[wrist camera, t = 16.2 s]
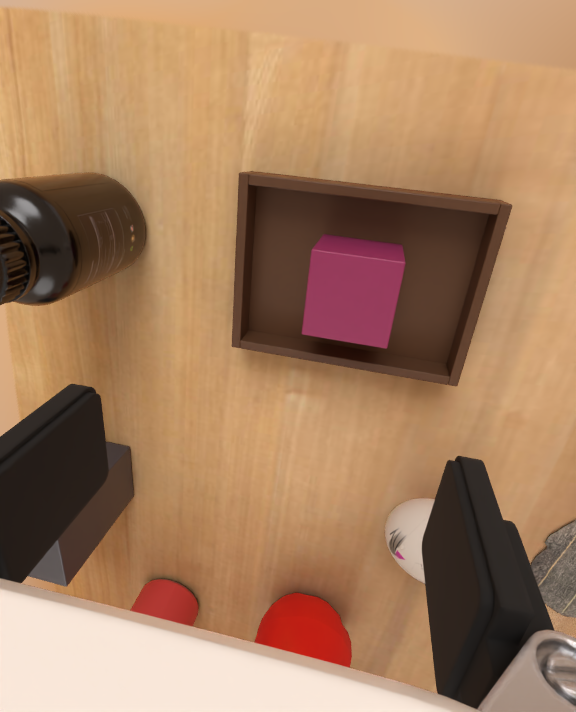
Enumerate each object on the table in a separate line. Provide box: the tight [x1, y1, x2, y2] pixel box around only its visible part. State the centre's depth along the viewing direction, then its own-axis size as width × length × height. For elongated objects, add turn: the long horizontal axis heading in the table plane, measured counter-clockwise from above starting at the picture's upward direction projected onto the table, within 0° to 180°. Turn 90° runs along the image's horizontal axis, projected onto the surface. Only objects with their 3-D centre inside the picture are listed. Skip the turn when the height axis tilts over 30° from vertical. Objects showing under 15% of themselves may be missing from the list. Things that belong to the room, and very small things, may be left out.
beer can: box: [130, 579, 198, 627], centre depth 42 cm, size 7×7×12 cm
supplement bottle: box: [0, 172, 145, 306], centre depth 26 cm, size 7×7×12 cm
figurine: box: [385, 498, 435, 584], centre depth 33 cm, size 8×6×7 cm
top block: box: [302, 234, 406, 348], centre depth 26 cm, size 5×5×5 cm
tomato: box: [254, 593, 352, 668], centre depth 41 cm, size 9×9×8 cm
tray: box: [232, 171, 512, 386], centre depth 28 cm, size 15×11×3 cm
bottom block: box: [28, 442, 134, 586], centre depth 37 cm, size 6×6×10 cm
